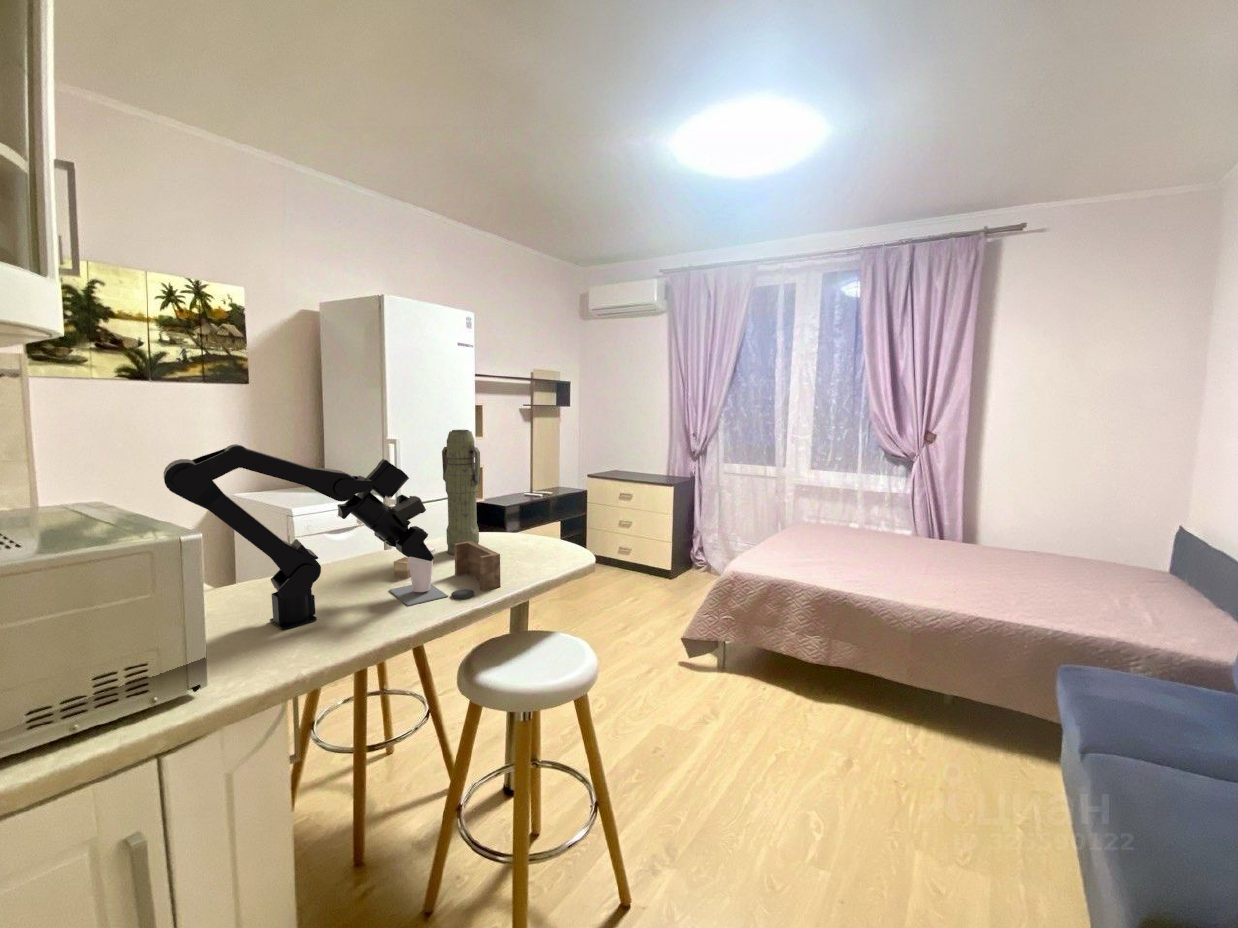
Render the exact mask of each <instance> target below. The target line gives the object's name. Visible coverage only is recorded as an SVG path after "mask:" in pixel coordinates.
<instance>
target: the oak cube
mask: <svg viewBox="0 0 1238 928" xmlns="http://www.w3.org/2000/svg"><path fill="white" fill-rule="evenodd" d="M393 573H394V575H393V576H394V577H395V578H399V579H407V580H408V579H410V578H411V574H410V568H409V562H408V557H407V556H404V557H401V558H398V559H396V560H394V561H393Z"/></svg>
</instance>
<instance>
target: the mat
mask: <svg viewBox="0 0 1238 928" xmlns="http://www.w3.org/2000/svg"><path fill="white" fill-rule="evenodd" d="M388 591H389V592H390V594H391V595H394V596H395V597H396V598H397V599H398V600H400V601H401V602H402V603H403V604H404V605H406V606H407V607H411V606H415V605H418V604H422V603H423V604H424V603H428V602H432V601H437V600H440V599H446V598H449V595H448V594H446V593H445V592H443V591H442V590H440V589H439V588H437V586H434V585H433V584H432V583H431V585H430V590H428V591H425V592H414V591H413V587H412V584H409V585H403V586H399V587H395V588H391V589H388Z"/></svg>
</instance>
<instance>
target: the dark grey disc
mask: <svg viewBox="0 0 1238 928" xmlns="http://www.w3.org/2000/svg"><path fill="white" fill-rule="evenodd" d="M450 595H451V599H453V600H460V601H461V600H469V599H471V598H474V596H475V591H474V590H473V589H467V588H465V589H464V588H462V589H457V590H454V591H452V592H451V593H450Z"/></svg>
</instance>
